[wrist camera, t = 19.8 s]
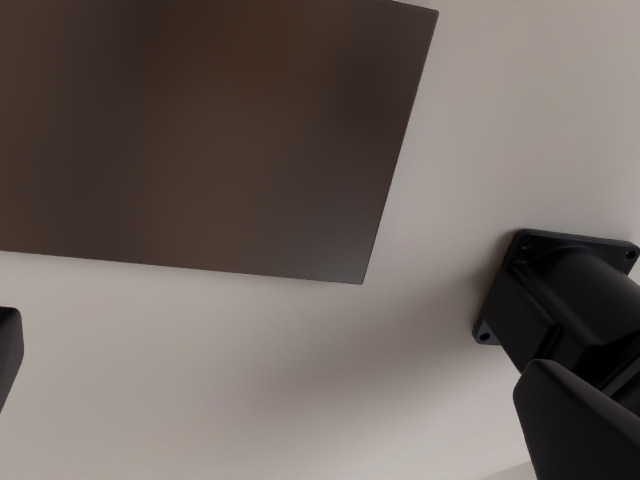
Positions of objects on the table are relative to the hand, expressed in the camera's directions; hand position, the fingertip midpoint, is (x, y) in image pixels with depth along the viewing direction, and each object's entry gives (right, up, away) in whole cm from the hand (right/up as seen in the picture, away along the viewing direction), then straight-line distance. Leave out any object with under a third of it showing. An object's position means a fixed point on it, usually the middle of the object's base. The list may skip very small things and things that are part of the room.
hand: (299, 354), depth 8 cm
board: (-7, +6, +9) cm, 13 cm away
